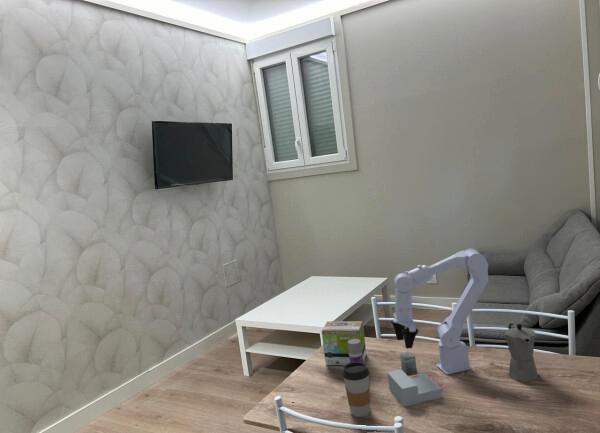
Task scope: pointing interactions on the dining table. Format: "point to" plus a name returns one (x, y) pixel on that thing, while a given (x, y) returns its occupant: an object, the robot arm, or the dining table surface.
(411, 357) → the column
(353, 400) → the coffee cup
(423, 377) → the stepped stand
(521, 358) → the coffeepot
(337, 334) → the tea box
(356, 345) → the container
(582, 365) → the dining table surface
